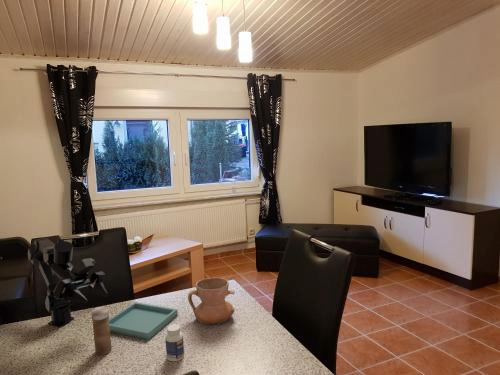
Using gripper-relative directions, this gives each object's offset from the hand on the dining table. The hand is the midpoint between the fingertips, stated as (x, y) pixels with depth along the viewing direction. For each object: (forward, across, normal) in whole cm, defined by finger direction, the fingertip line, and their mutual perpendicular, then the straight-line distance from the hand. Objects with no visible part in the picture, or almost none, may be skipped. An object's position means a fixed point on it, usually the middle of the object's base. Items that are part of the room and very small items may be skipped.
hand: (97, 298), depth 120 cm
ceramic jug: (+32, +27, -5) cm, 42 cm away
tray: (+11, +16, +8) cm, 21 cm away
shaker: (+12, -2, +11) cm, 17 cm away
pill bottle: (+33, +2, -1) cm, 33 cm away
